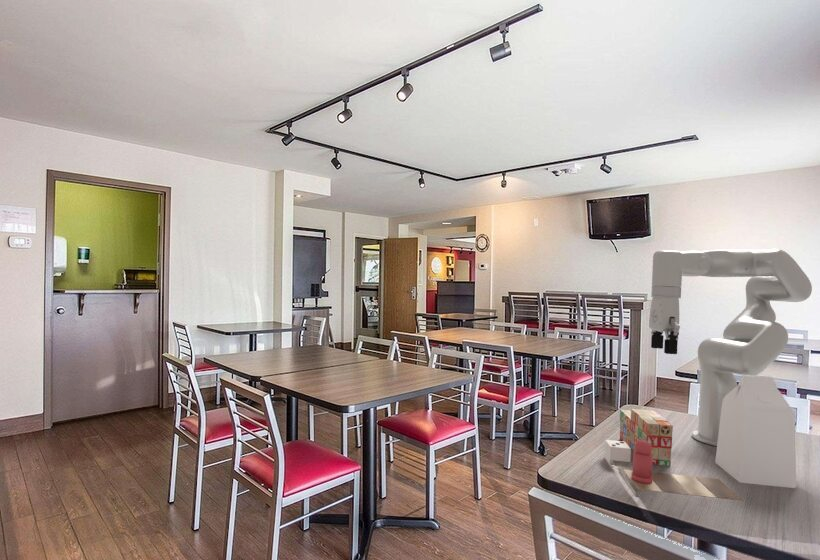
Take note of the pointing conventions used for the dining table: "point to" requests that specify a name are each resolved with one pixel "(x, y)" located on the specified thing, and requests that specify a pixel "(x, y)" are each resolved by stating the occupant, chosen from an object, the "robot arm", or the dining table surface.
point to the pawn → (642, 463)
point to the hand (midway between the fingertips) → (663, 350)
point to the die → (617, 451)
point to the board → (683, 485)
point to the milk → (757, 434)
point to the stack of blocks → (647, 433)
